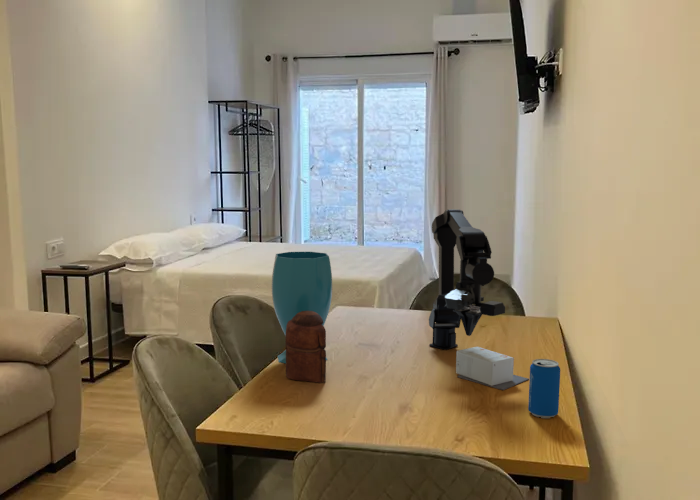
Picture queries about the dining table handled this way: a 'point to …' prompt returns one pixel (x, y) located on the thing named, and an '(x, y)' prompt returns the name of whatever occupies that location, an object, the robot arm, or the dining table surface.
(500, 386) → the mat
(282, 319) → the vase
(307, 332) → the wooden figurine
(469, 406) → the dining table surface
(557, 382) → the beverage can
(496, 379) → the small box
